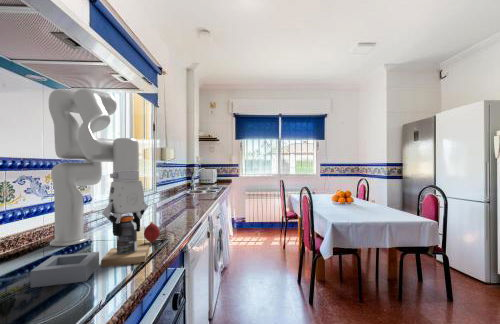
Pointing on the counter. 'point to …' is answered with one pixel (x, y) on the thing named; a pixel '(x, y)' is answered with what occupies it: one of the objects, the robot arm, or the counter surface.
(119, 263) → the pad
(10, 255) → the counter surface
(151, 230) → the onion
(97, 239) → the counter surface
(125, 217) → the pill bottle
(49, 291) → the counter surface
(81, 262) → the socket collar
